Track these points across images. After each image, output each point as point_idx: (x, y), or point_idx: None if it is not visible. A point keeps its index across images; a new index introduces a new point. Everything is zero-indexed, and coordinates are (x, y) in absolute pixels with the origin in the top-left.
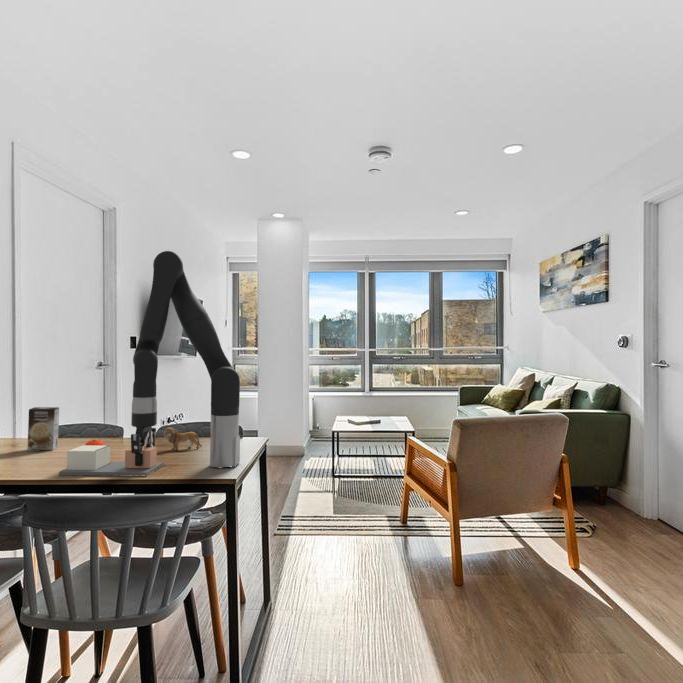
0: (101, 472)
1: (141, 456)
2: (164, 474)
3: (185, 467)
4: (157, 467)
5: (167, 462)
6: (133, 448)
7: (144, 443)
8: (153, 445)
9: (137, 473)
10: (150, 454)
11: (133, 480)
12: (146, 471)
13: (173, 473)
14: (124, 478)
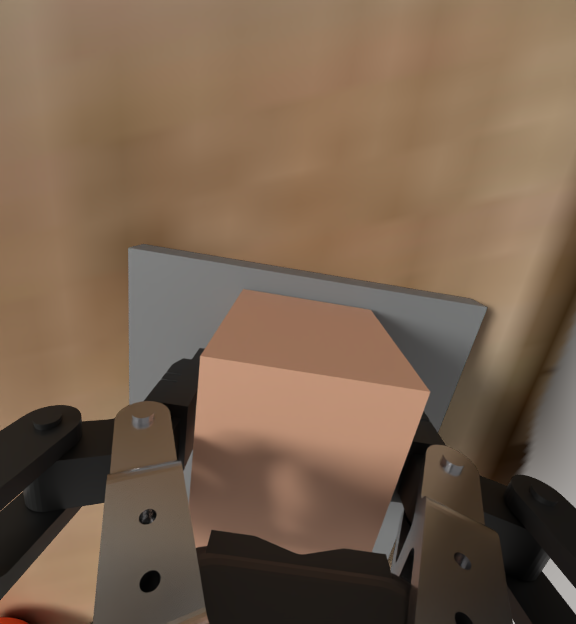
0: (389, 547)
1: (422, 432)
2: (442, 176)
3: (206, 16)
4: (274, 269)
5: (28, 239)
6: (541, 595)
7: (498, 564)
8: (81, 420)
9: (458, 366)
10: (405, 362)
11: (551, 356)
12: (452, 316)
13: (426, 98)
14: (477, 416)
